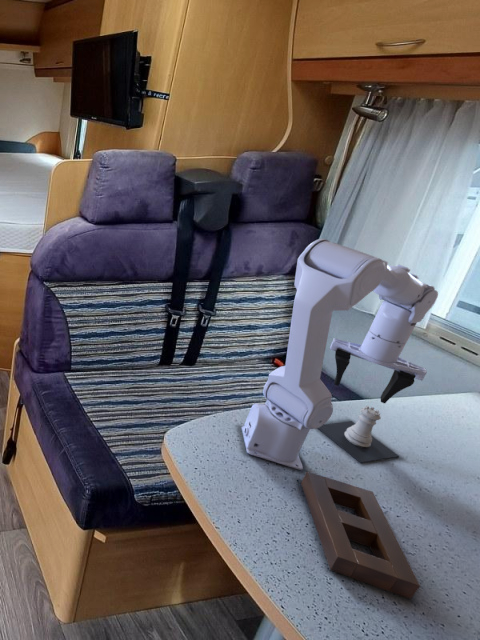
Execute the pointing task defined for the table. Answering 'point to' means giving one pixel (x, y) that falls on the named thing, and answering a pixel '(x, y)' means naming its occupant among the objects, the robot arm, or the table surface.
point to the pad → (359, 453)
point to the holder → (357, 535)
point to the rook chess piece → (363, 428)
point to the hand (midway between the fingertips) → (359, 391)
